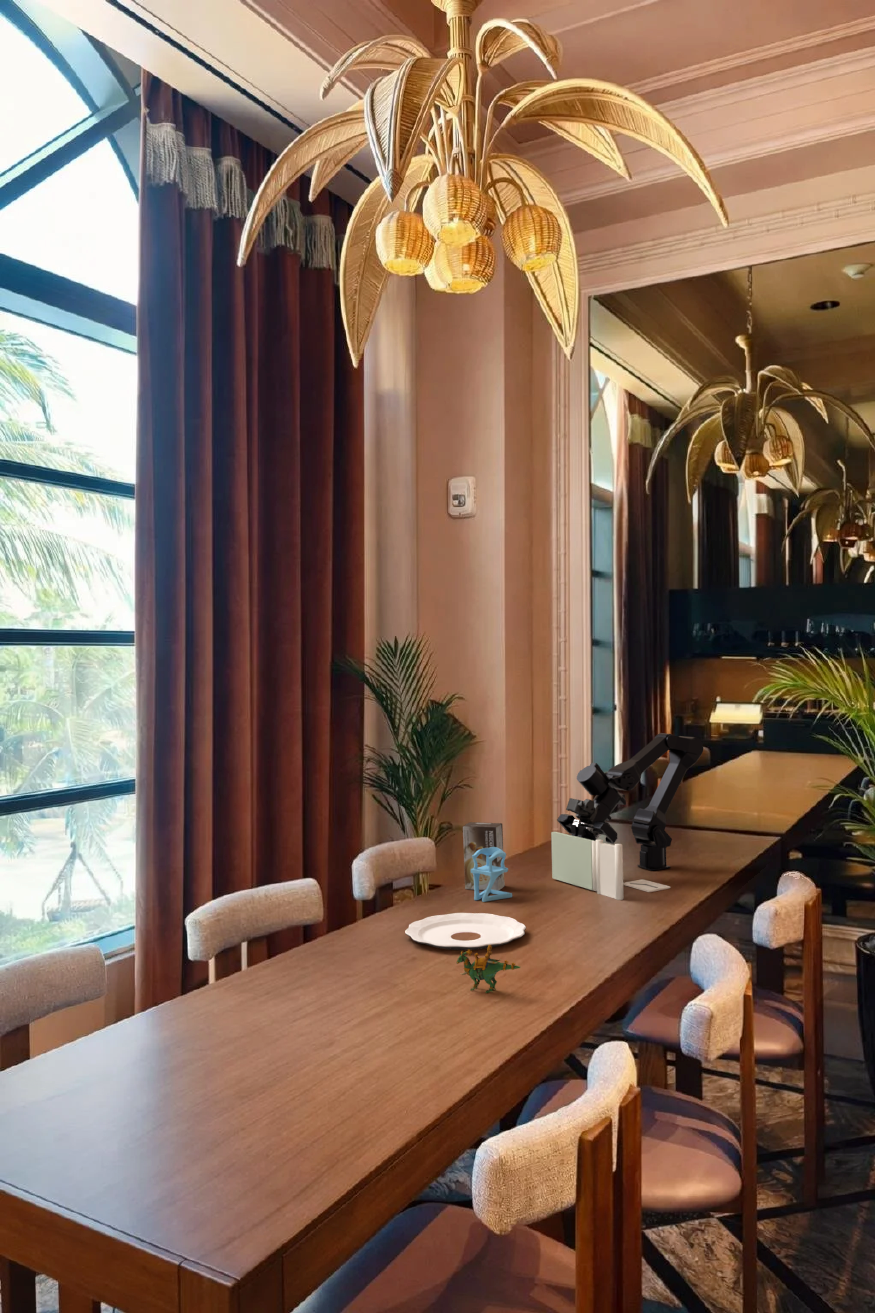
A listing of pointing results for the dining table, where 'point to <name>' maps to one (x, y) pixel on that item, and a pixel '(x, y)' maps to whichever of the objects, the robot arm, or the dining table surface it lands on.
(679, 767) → the robot arm
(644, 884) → the card
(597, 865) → the fence fixed section
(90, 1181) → the dining table surface
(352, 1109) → the dining table surface
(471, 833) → the coffee box
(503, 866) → the chair
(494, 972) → the figurine
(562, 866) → the panel
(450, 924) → the plate
